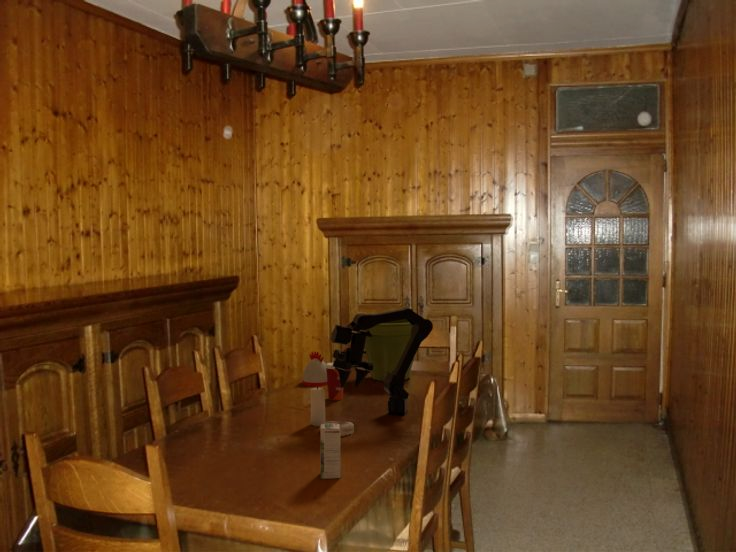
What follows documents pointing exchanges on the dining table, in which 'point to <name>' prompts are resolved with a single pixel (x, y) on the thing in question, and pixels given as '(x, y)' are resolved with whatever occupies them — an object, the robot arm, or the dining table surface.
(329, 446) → the syrup box
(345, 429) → the base disc
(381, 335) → the plant pot
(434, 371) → the dining table surface
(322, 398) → the candle
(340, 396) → the coffee cup
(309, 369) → the white and red hat
